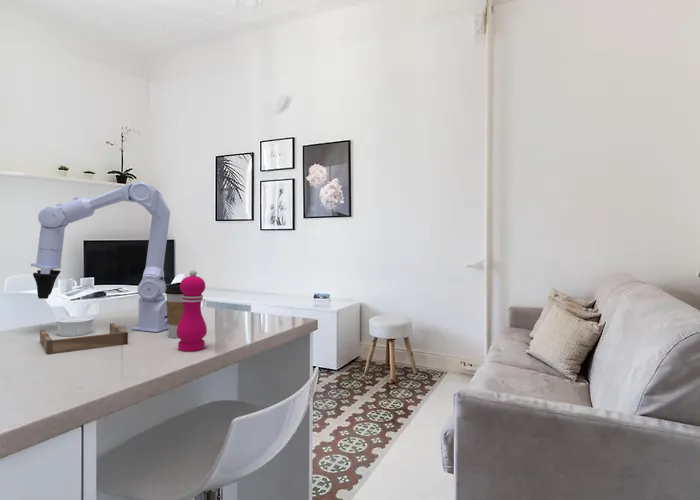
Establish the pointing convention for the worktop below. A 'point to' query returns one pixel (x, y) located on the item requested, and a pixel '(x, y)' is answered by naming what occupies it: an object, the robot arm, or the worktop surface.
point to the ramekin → (74, 325)
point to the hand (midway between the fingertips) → (44, 296)
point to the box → (84, 341)
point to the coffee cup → (174, 307)
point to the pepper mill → (192, 314)
